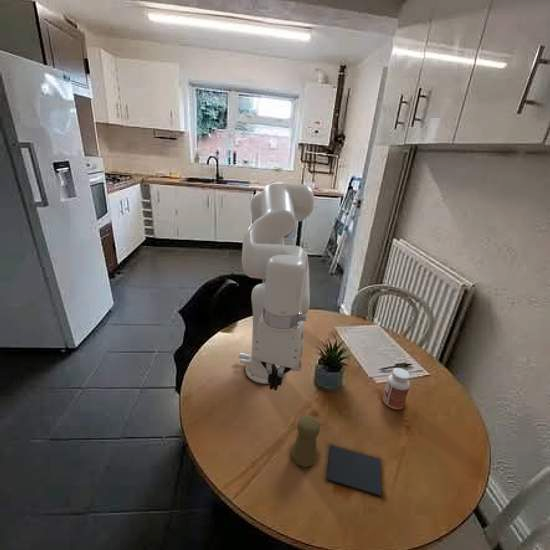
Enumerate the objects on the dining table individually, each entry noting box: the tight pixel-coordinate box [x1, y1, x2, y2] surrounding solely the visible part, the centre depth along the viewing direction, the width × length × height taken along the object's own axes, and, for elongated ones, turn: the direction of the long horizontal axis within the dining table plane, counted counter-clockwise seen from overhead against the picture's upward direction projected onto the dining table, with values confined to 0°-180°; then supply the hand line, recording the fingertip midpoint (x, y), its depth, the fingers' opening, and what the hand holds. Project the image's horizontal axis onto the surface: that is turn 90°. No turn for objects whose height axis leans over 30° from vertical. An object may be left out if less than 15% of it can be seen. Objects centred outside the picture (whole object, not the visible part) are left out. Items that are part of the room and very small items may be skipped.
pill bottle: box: [382, 367, 411, 410], centre depth 92 cm, size 6×6×11 cm
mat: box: [326, 445, 382, 497], centre depth 73 cm, size 12×9×1 cm
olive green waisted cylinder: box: [291, 415, 321, 468], centre depth 74 cm, size 6×6×11 cm
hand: (274, 385), depth 70 cm, fingers closed
